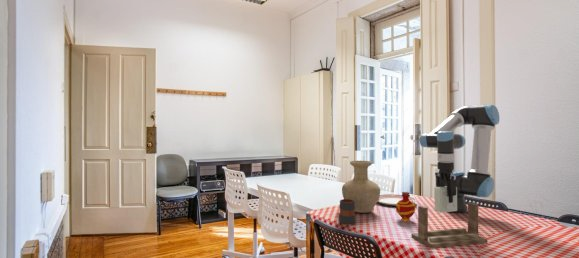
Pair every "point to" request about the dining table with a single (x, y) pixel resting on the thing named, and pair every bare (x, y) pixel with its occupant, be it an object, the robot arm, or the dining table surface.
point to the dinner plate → (392, 199)
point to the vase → (361, 188)
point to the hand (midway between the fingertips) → (446, 207)
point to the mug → (347, 212)
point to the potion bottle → (405, 207)
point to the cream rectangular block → (444, 200)
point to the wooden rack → (449, 230)
